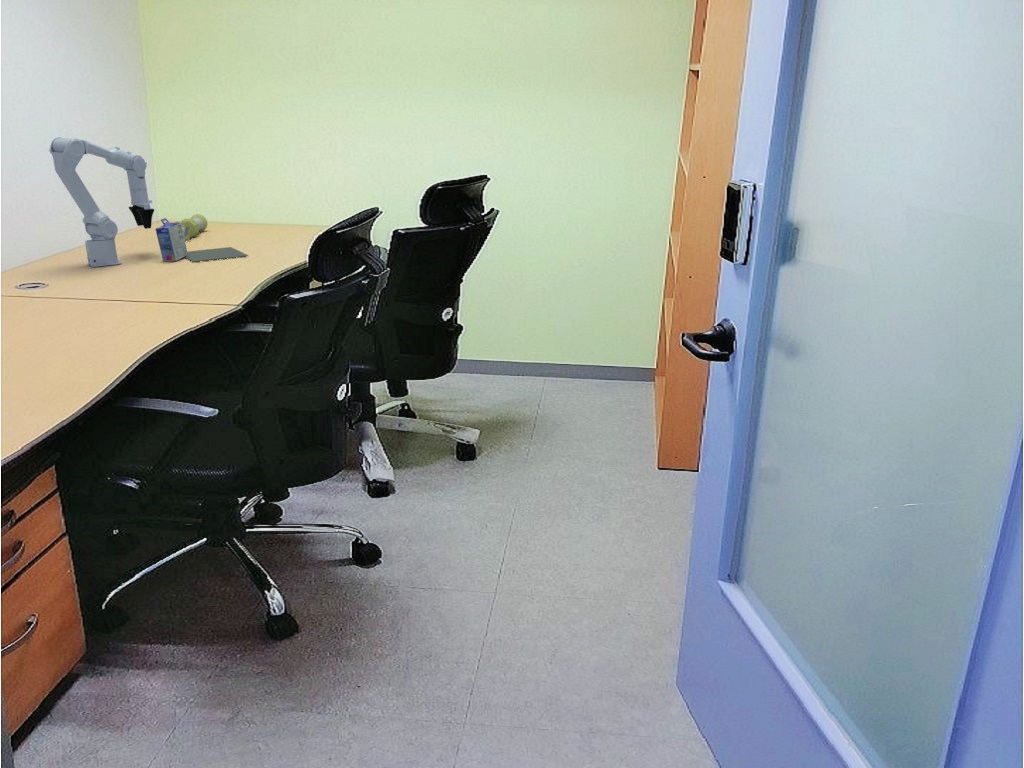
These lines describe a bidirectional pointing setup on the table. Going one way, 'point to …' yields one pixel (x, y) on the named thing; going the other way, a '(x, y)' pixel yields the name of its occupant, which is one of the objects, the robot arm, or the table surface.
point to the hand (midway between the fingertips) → (144, 226)
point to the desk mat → (214, 254)
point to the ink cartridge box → (171, 241)
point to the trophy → (193, 226)
